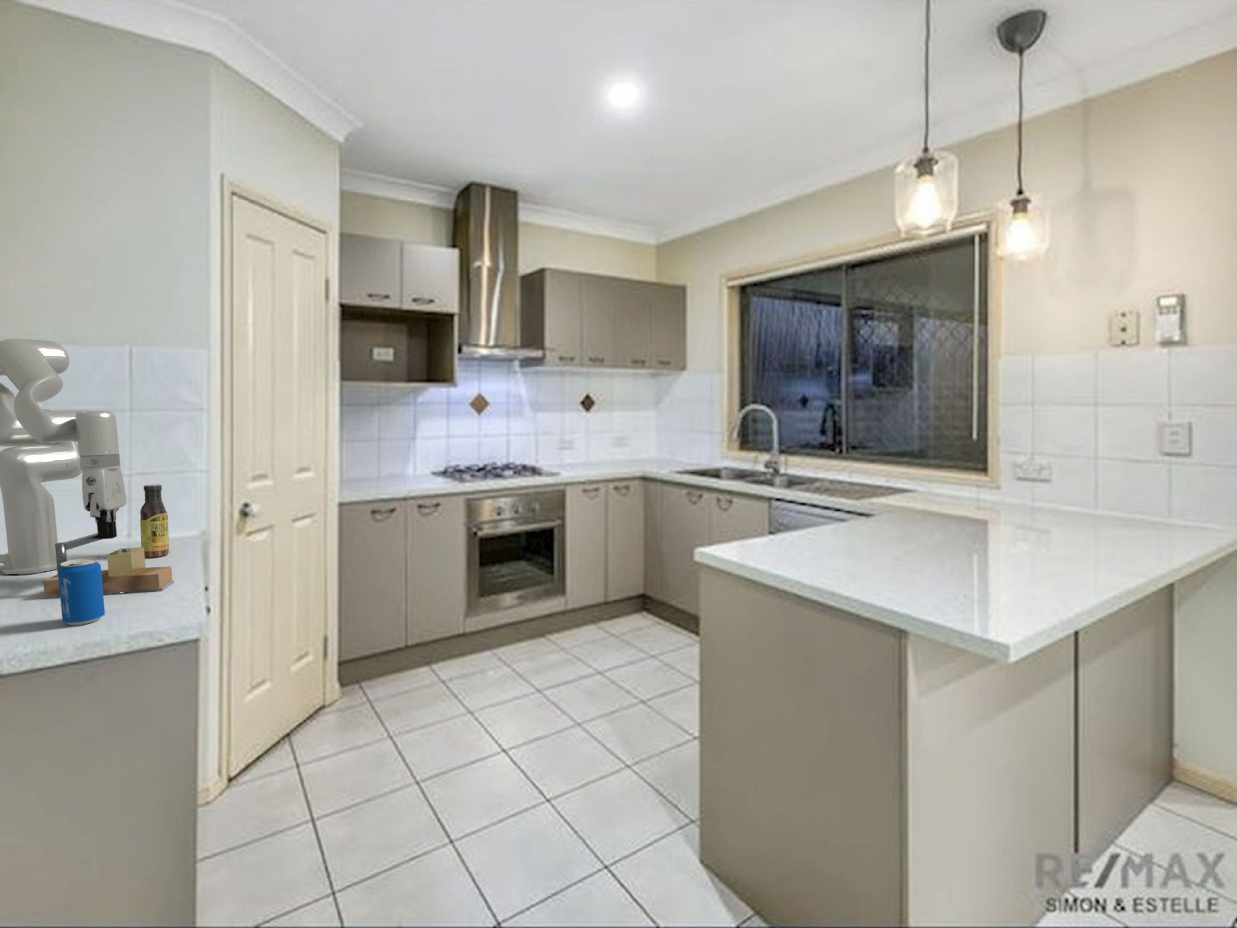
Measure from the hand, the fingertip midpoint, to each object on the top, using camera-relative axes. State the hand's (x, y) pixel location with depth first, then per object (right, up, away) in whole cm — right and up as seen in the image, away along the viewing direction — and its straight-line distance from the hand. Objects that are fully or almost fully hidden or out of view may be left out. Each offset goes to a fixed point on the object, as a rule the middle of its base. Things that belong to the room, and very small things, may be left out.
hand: (107, 538), depth 154 cm
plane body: (+7, -11, -8) cm, 15 cm away
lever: (-2, -6, -3) cm, 7 cm away
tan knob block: (+10, -7, -7) cm, 14 cm away
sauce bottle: (-6, -8, +24) cm, 26 cm away
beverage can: (+17, -14, -27) cm, 35 cm away
